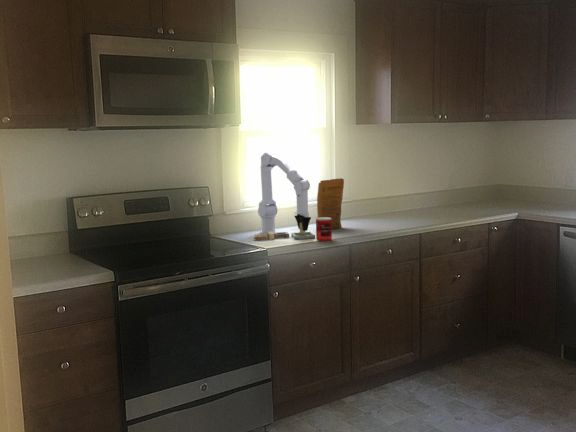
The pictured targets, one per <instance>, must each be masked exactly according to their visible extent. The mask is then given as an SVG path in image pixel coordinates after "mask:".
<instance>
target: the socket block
mask: <svg viewBox="0 0 576 432" xmlns="http://www.w3.org/2000/svg"><path fill="white" fill-rule="evenodd" d="M289 238H290V233H289V232H287V231H282V232H281V231H280V232H276V233H274V239H289Z"/></svg>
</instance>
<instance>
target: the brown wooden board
mask: <svg viewBox="0 0 576 432" xmlns="http://www.w3.org/2000/svg"><path fill="white" fill-rule="evenodd" d="M253 235H254V236H253V237H254V241H256V242H257V241H268V234H261V233H254V234H253Z"/></svg>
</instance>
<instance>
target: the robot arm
mask: <svg viewBox="0 0 576 432" xmlns="http://www.w3.org/2000/svg"><path fill="white" fill-rule="evenodd" d="M274 167H278V168H280V170H281V171H282V172H283V173H285V174H286V178H287V180H288V181H289V182H290V183H291V184H292V185H293V189H294V191H295V194H296V211H295V212H294V214H295V215H293V216H294V219H295V221H296V224H297V228H298V229H299V230H300V223H302V228H303V231H306V232H308V230H309V224H310V221H311V219H312V217H311V216H310V213H309V200H308V199H309V195H308V190H310V187H311V186H310V185H311V184H310V181H309V180H308V179H304V178H303V177H302V176H301V175H300V174H299V173H298V170H295V169H292V168H291V167H290V166H289V165H288V163H287V161H285V160H284V157H283V155H282V154H281V153H280V152H278V151H276V152H264V153H263V154H262V155H261V156H260V179H261V181H260V182H261V196H262V198H261V199H262V200H261V201H260V202H259V203H258V209H257V213H258V216H259V218H260V219H261V231H260V232H259V234H266V235H268V232H273V233H277V232H276V223H275V221H276V219H275V218H276V217H277V216H276V215H277V214H278V211H279V209H278V206H277V202H276V201H275V200H274V199H273V186H272V185H273V183H272V170H273V168H274Z"/></svg>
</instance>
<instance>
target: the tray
mask: <svg viewBox="0 0 576 432" xmlns="http://www.w3.org/2000/svg"><path fill="white" fill-rule="evenodd" d="M291 237H292V238H293V239H294V240H315V239H316V235H315V233H313V232H311V231H306V235H303V236H300V231H299V232H291Z"/></svg>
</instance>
